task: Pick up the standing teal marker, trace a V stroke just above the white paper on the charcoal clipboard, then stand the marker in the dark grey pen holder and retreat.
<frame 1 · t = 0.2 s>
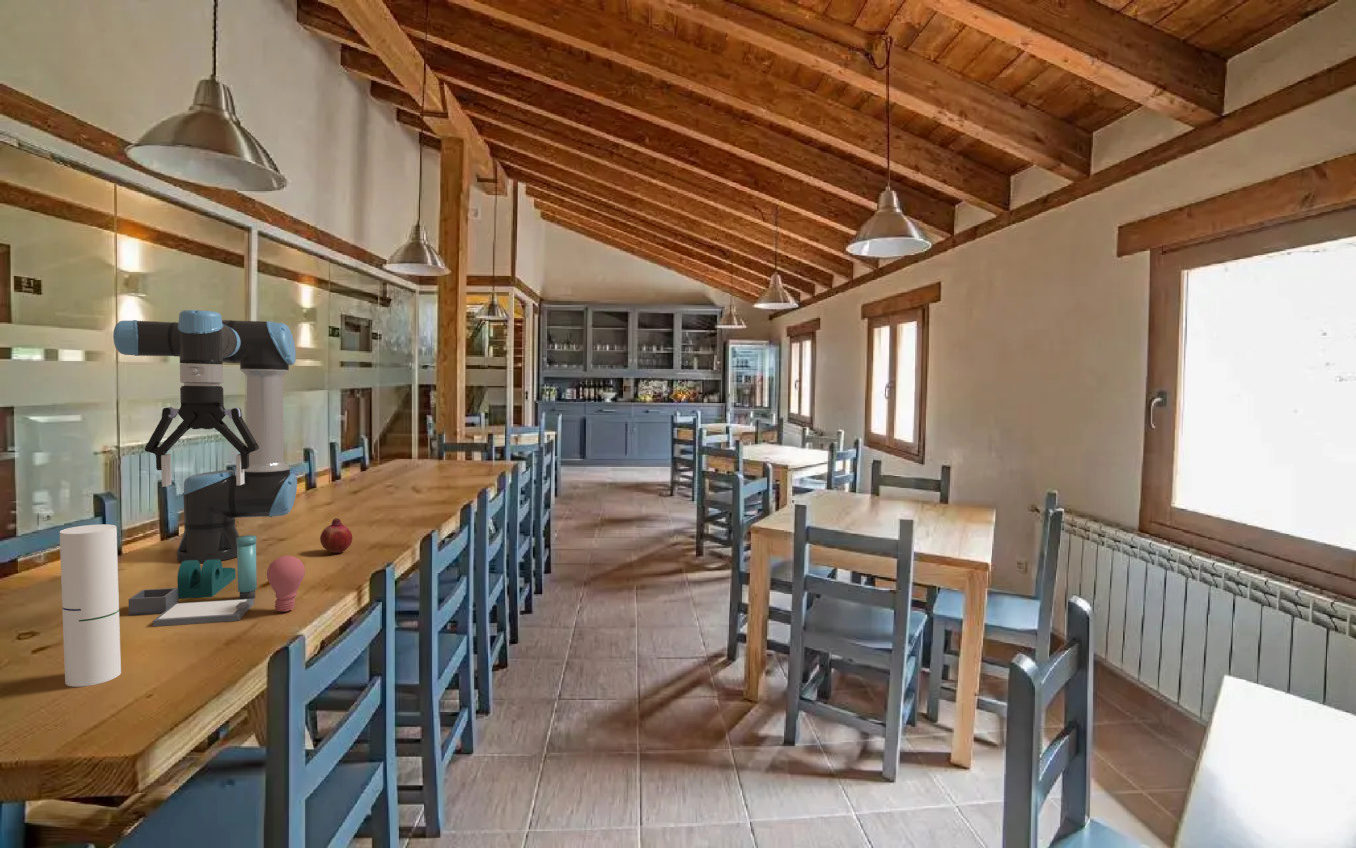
hand: (204, 485, 149), 27 cm above the table, fingers open, 13 cm apart
bracket: (210, 587, 167), on the table
cylindrical container: (93, 678, 117), on the table
light bulb: (286, 612, 150), on the table
pen holder: (154, 609, 150), on the table
clipboard: (206, 614, 147), on the table
fruit: (336, 553, 199), on the table
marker: (247, 598, 158), on the table
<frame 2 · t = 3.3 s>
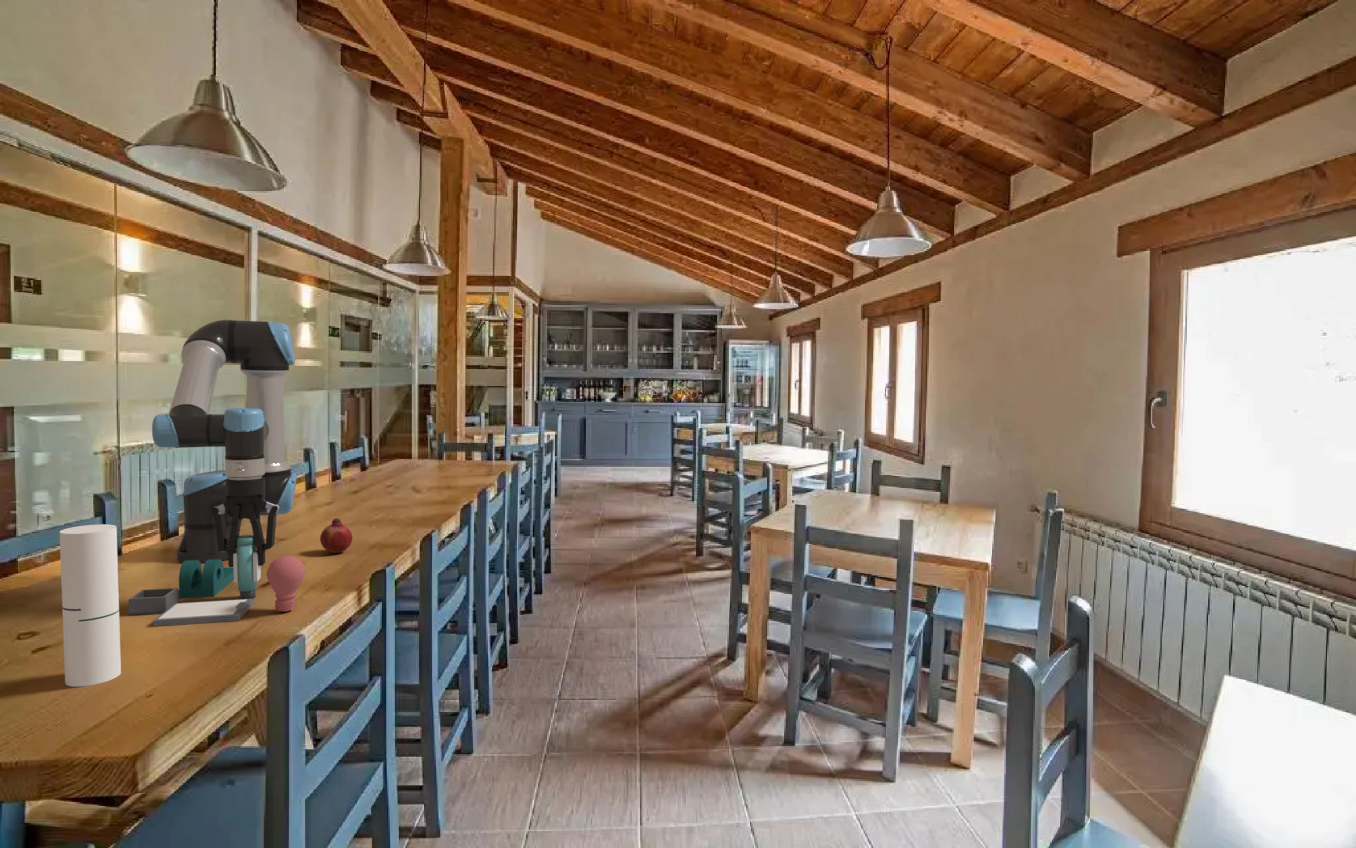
hand: (247, 580, 158), 4 cm above the table, fingers closed on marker, 3 cm apart
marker: (247, 597, 159), on the table, touching gripper
everything else where it was.
when the fingers open (5 cm above the table, at t = 12.6 s): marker stays where it is, resting on pen holder.
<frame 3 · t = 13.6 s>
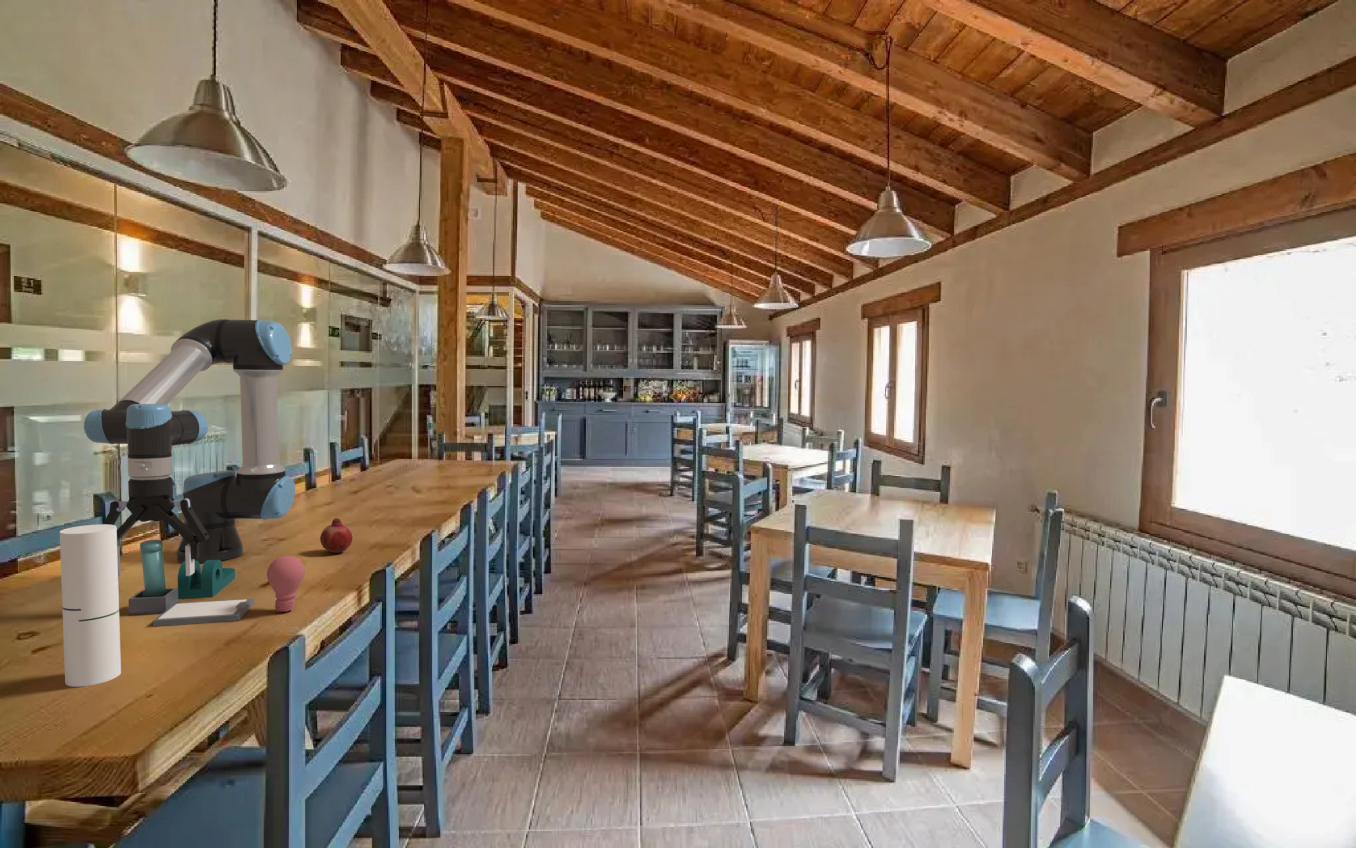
hand: (153, 576, 149), 7 cm above the table, fingers open, 13 cm apart
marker: (156, 604, 151), point 1 cm above the table, tilted 8°, touching pen holder
everything else where it was.
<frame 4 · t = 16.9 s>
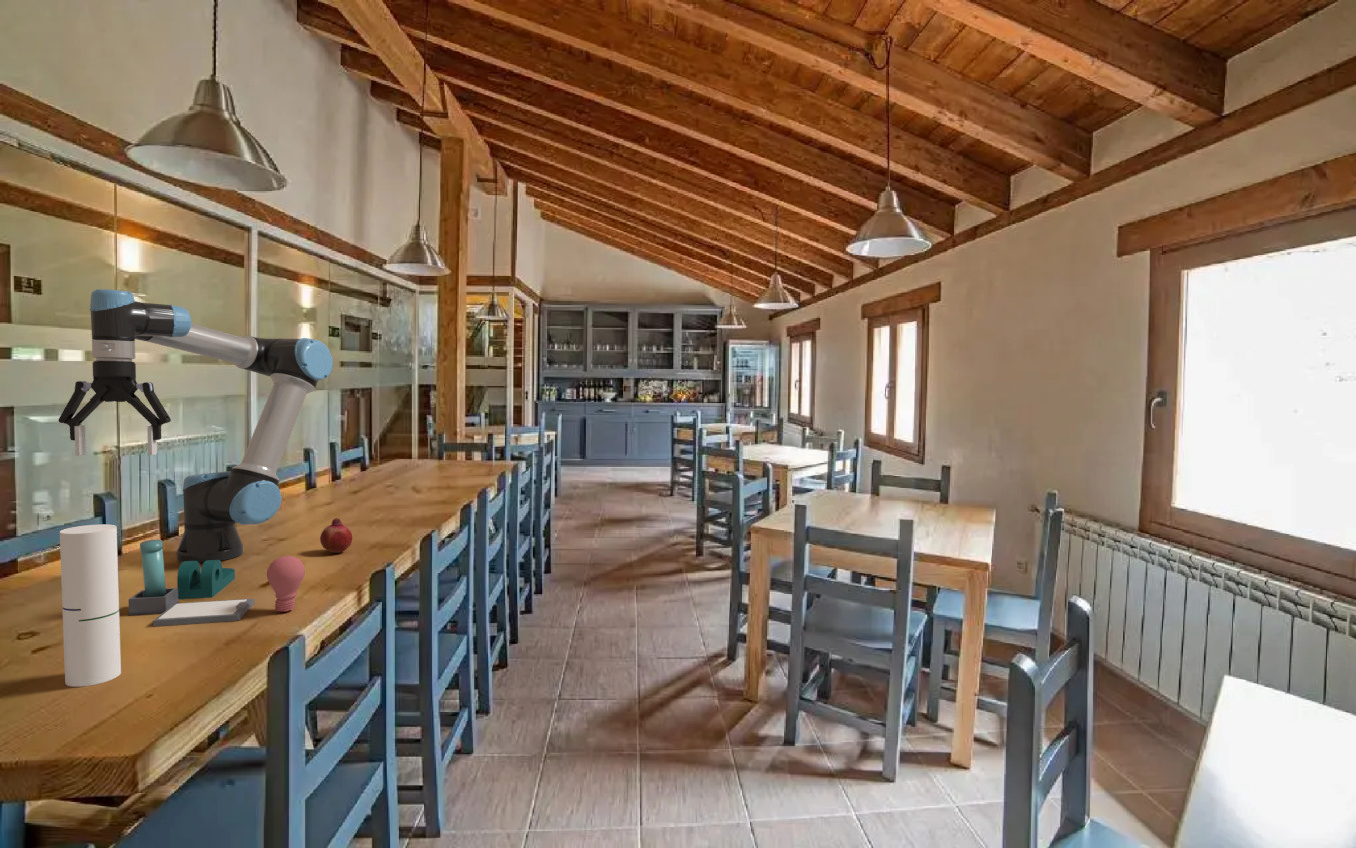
hand: (117, 455, 158), 32 cm above the table, fingers open, 13 cm apart
nothing on the table moved.
at the end: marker 1.3 cm from the pen holder (horizontally); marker point 0.7 cm above the table; the gripper is holding nothing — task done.
